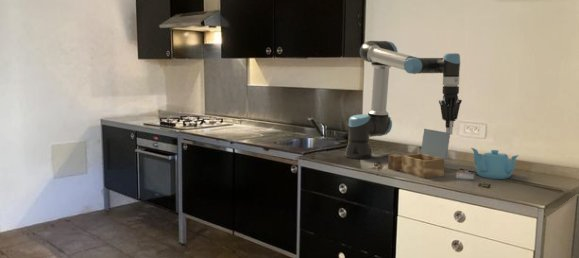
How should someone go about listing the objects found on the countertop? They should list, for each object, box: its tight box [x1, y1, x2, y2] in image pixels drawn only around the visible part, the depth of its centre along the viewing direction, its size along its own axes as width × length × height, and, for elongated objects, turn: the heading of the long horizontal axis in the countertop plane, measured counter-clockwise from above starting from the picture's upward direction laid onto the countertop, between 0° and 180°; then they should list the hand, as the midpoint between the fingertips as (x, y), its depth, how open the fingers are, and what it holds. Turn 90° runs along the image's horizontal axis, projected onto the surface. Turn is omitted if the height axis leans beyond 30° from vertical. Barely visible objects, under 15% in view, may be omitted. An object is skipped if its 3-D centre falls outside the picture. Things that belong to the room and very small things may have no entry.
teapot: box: [470, 147, 520, 180], centre depth 229 cm, size 17×19×12 cm
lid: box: [421, 128, 451, 160], centre depth 236 cm, size 17×12×1 cm
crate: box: [400, 153, 446, 179], centre depth 234 cm, size 16×12×8 cm
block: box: [387, 153, 402, 172], centre depth 244 cm, size 5×5×7 cm
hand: (449, 134), depth 239 cm, fingers closed
